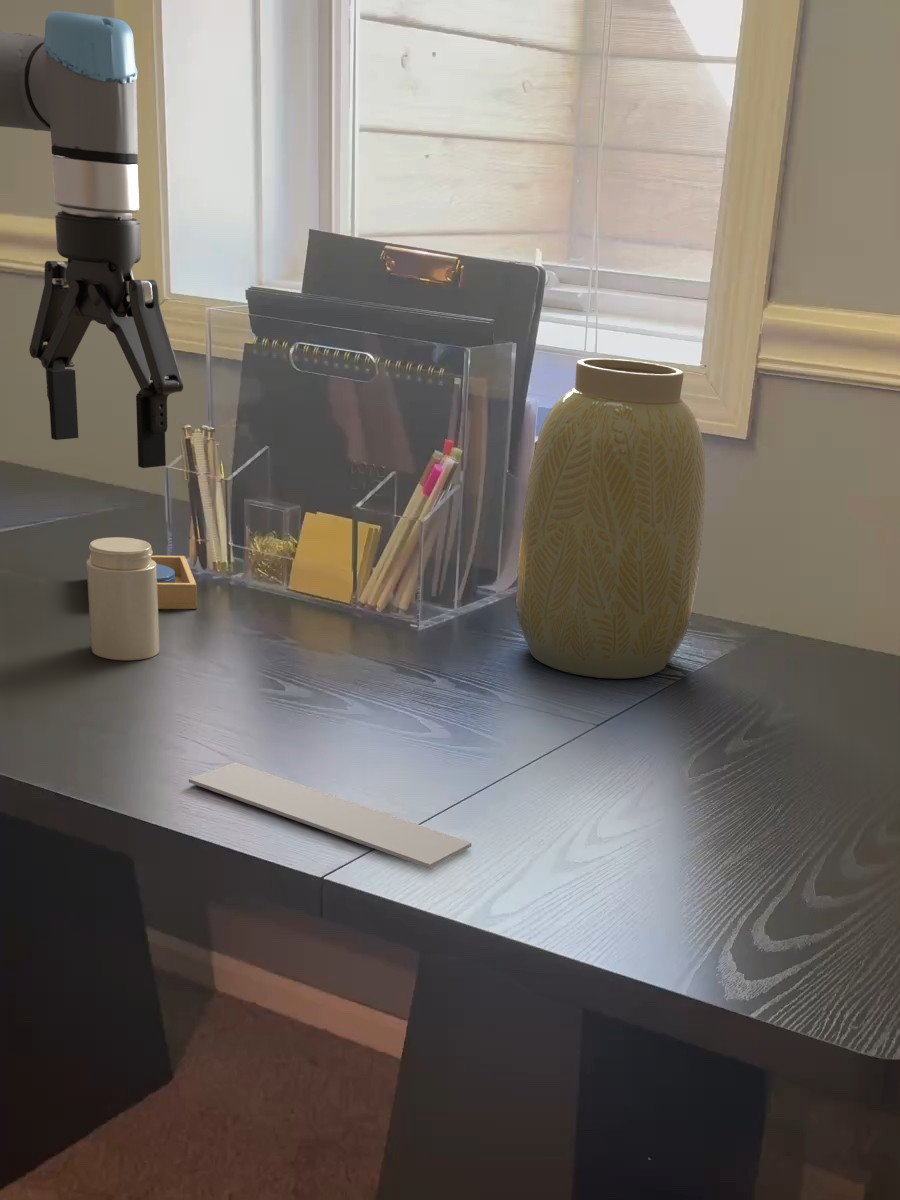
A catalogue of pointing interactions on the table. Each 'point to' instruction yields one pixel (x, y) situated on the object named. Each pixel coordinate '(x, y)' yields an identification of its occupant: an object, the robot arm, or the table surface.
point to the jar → (123, 599)
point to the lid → (165, 574)
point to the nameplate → (332, 814)
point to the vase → (612, 523)
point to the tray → (176, 585)
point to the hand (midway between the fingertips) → (107, 452)
